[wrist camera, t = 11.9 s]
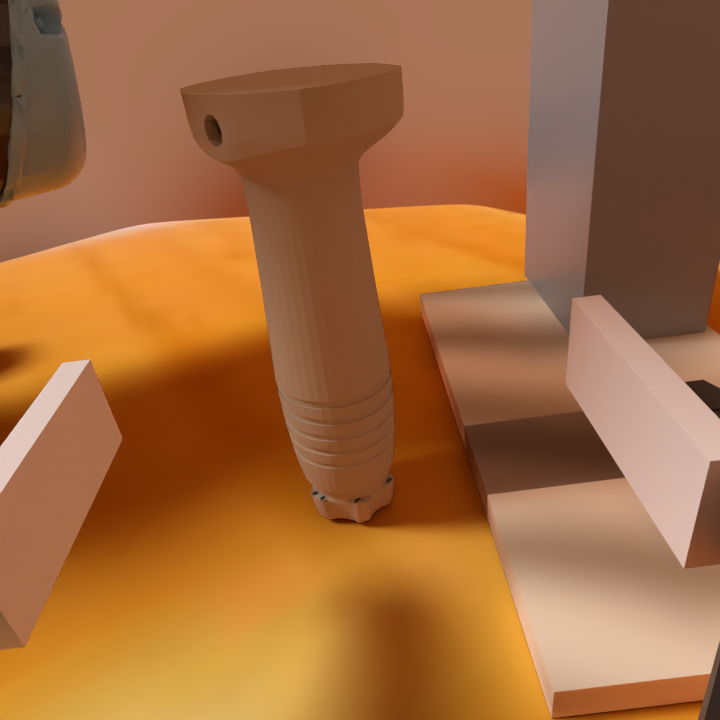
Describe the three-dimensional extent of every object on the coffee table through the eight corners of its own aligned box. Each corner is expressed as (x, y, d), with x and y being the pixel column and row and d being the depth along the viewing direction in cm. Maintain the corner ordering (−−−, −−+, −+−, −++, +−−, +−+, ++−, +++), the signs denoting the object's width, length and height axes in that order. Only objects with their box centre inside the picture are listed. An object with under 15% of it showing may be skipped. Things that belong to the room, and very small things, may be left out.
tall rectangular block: (524, 275, 36) (532, -15, 28) (627, 261, 36) (664, -33, 28) (578, 348, 28) (610, -24, 21) (711, 331, 28) (791, -49, 20)
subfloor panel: (421, 312, 36) (419, 294, 35) (634, 284, 36) (636, 266, 35) (551, 718, 15) (553, 692, 15) (1054, 658, 15) (1078, 629, 15)
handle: (366, 581, 20) (284, 96, 12) (256, 493, 24) (145, 93, 16) (457, 500, 22) (438, 60, 15) (344, 434, 27) (283, 66, 19)
